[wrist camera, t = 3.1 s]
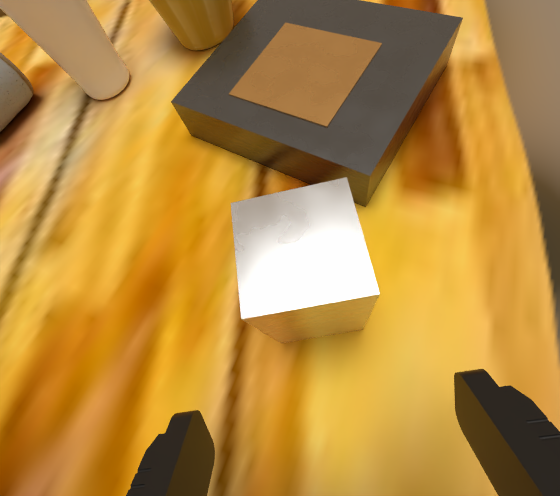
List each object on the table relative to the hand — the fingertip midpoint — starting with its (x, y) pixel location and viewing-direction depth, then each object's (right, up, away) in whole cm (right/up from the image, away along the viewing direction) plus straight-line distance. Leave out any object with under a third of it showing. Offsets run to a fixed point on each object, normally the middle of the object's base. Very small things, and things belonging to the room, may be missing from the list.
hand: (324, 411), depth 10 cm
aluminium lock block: (+1, +2, +12) cm, 12 cm away
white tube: (-21, +23, +26) cm, 40 cm away
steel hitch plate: (+2, +19, +19) cm, 27 cm away
